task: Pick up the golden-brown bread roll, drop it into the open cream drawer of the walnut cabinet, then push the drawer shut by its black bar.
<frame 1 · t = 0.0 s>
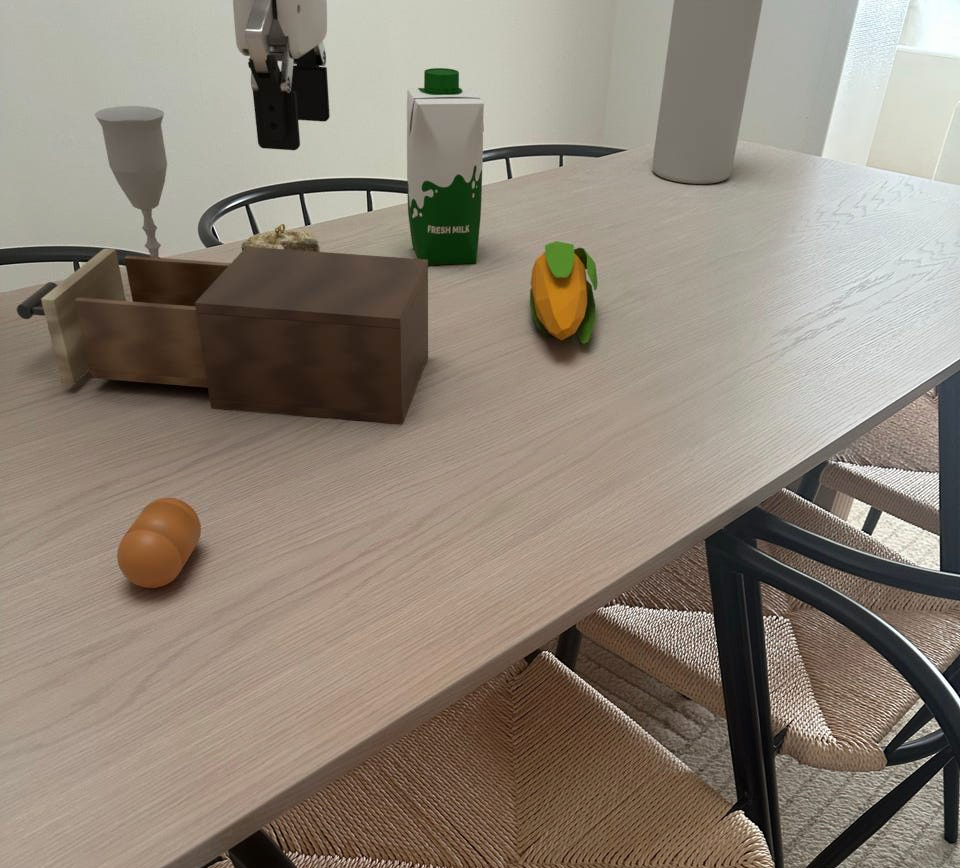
hand: (295, 133, 80), 22 cm above the table, tool pointing down, fingers open, 9 cm apart
cabinet: (325, 381, 95), on the table
cylinder vase: (690, 175, 157), on the table
chalice: (160, 290, 113), on the table
drawer: (143, 318, 94), point 5 cm above the table, slide at 13.0 cm
bread roll: (165, 567, 71), on the table
milk carton: (443, 257, 124), on the table
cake: (284, 271, 119), on the table
corn: (562, 328, 108), on the table
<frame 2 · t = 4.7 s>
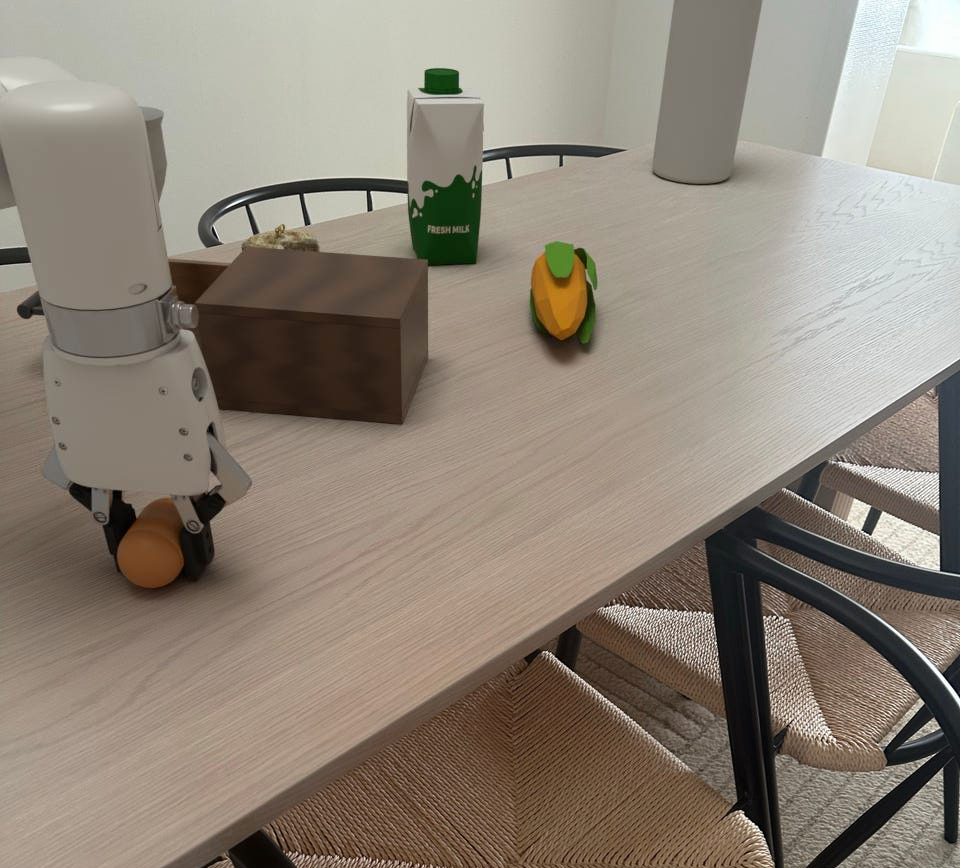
hand: (164, 563, 71), 0 cm above the table, tool pointing down, fingers closed on bread roll, 4 cm apart
bread roll: (165, 567, 71), on the table, touching gripper
everything else where it was.
when the fingers open (8 cm above the table, at t = 11.2 s): bread roll drops 6 cm, resting on drawer.
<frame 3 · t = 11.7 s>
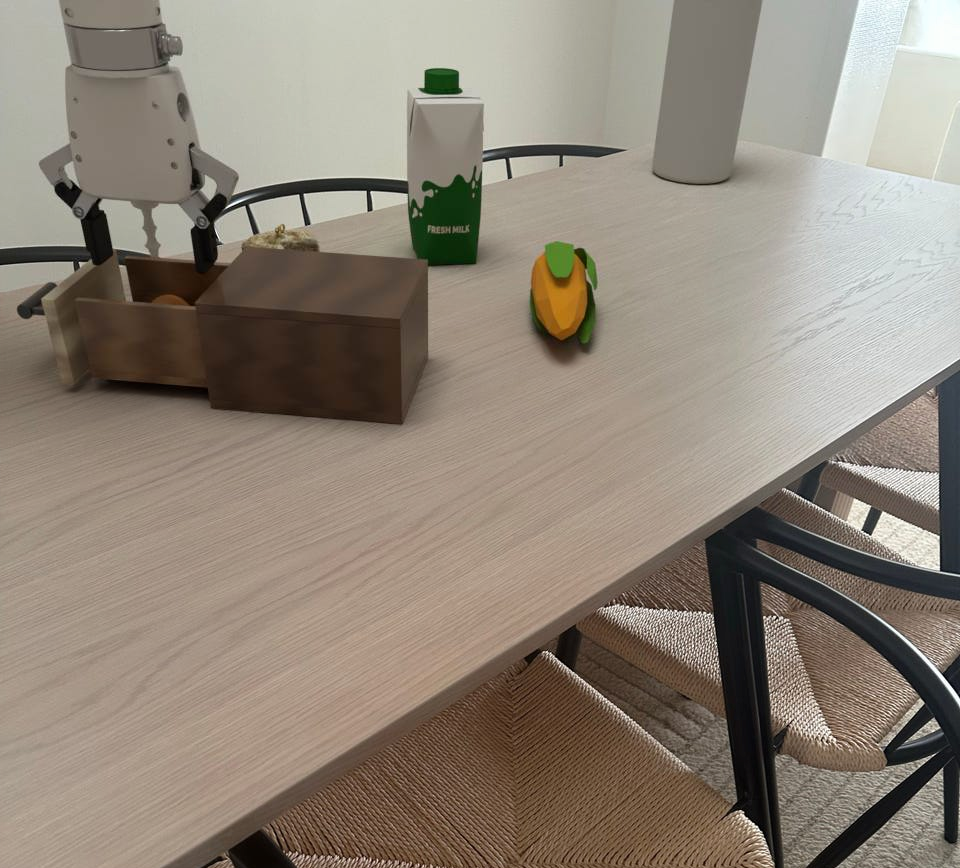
hand: (154, 264, 90), 10 cm above the table, tool pointing down, fingers open, 9 cm apart
drawer: (143, 318, 94), point 5 cm above the table, slide at 13.0 cm, touching bread roll
bread roll: (171, 348, 95), point 2 cm above the table, tilted 9°, touching drawer
everything else where it was.
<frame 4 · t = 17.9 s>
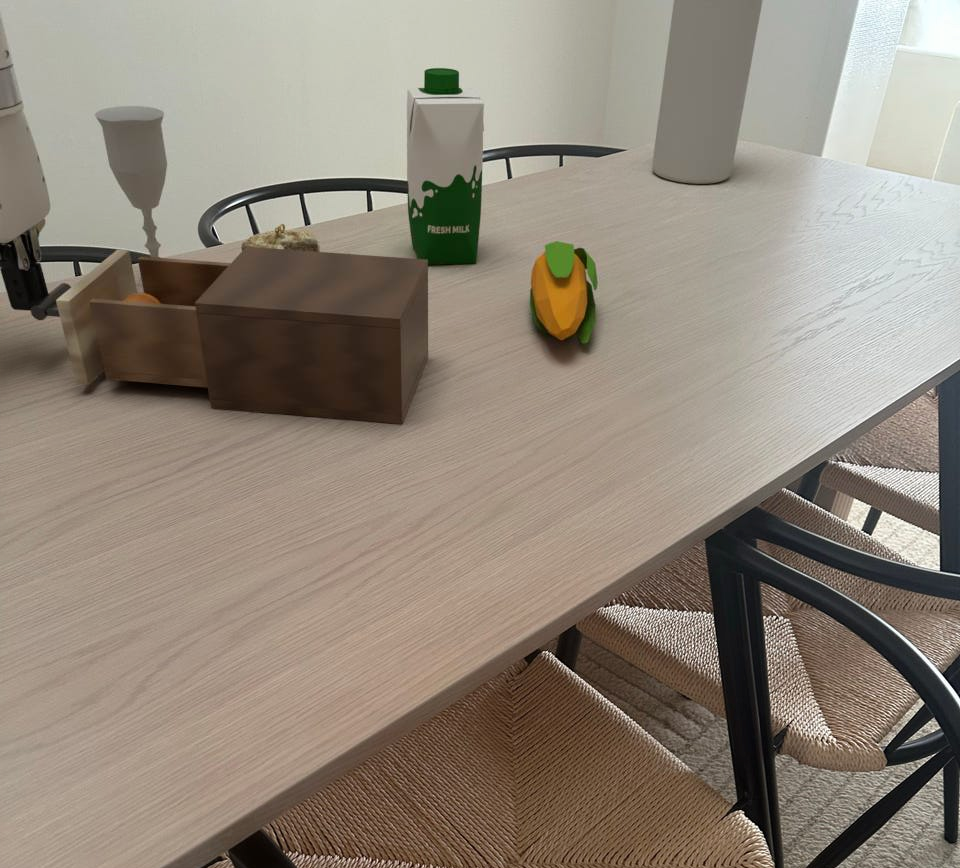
hand: (31, 306, 94), 5 cm above the table, tool pointing down, fingers closed
drawer: (157, 319, 93), point 5 cm above the table, slide at 11.6 cm, touching bread roll
bread roll: (153, 314, 93), point 5 cm above the table, tilted 118°, touching drawer
everything else where it was.
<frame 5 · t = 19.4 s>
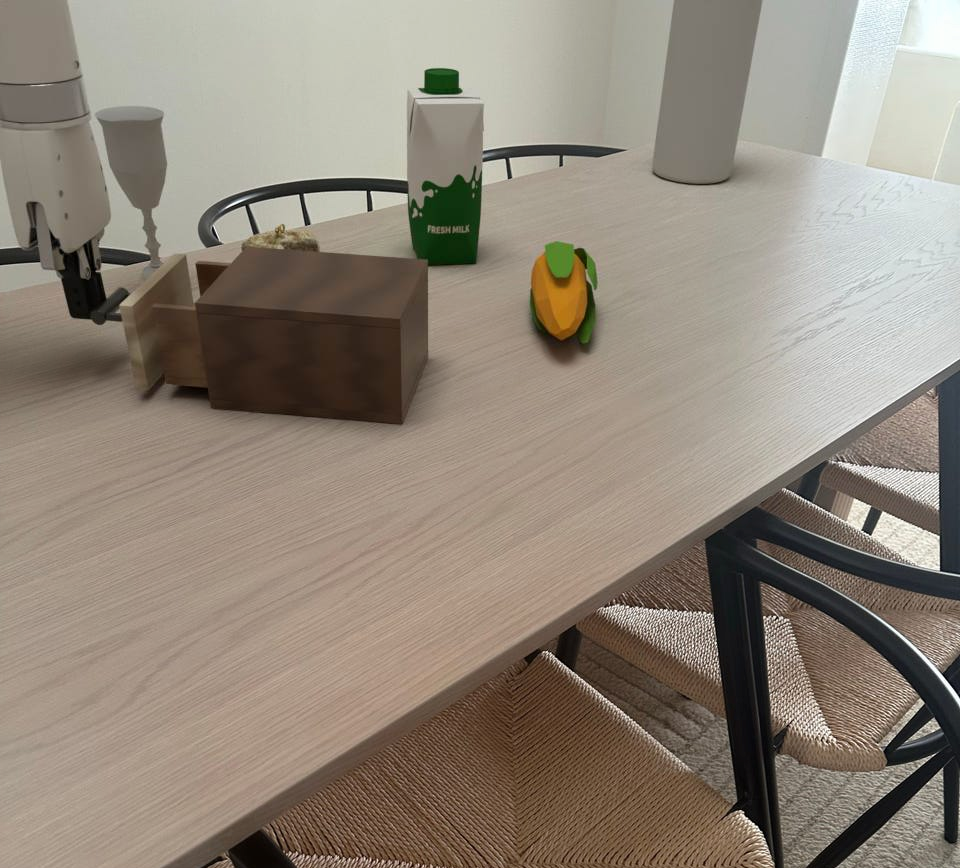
hand: (90, 315, 94), 5 cm above the table, tool pointing down, fingers closed
drawer: (215, 324, 93), point 5 cm above the table, slide at 5.9 cm, touching bread roll, gripper
bread roll: (227, 331, 93), point 4 cm above the table, tilted 90°, touching drawer
everything else where it was.
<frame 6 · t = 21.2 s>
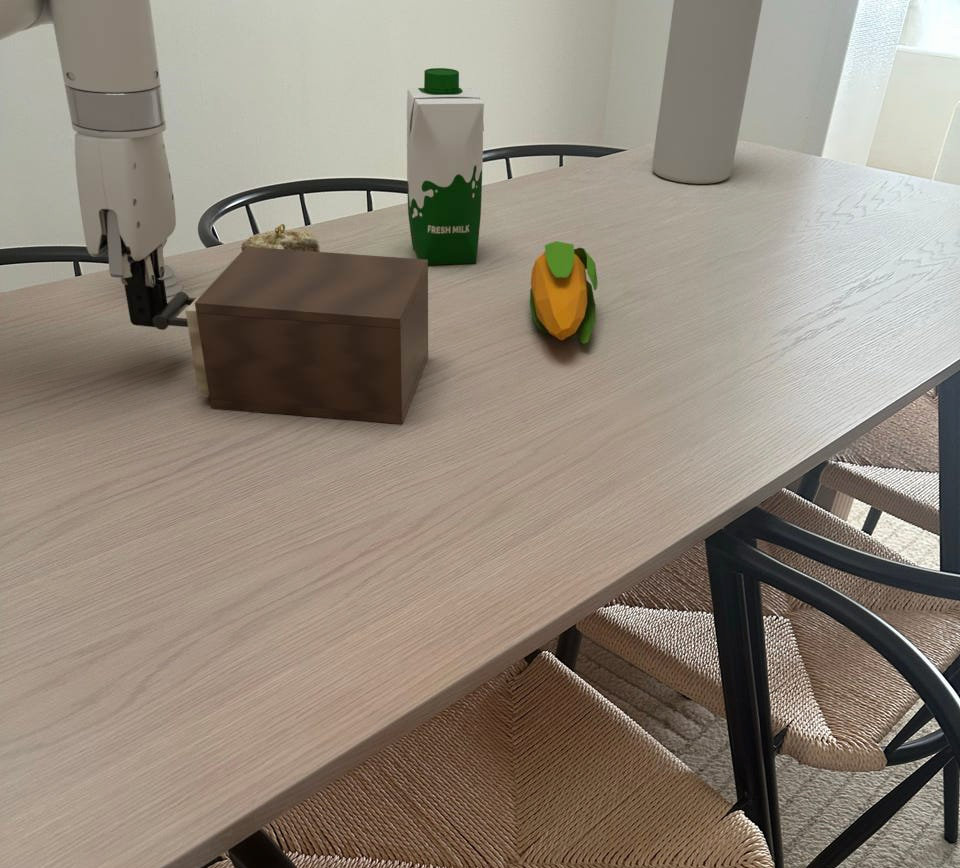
hand: (150, 322, 94), 5 cm above the table, tool pointing down, fingers closed
drawer: (277, 328, 93), point 5 cm above the table, slide at 0.0 cm, touching bread roll, cabinet, gripper
bread roll: (301, 354, 94), point 3 cm above the table, tilted 39°, touching drawer
everything else where it was.
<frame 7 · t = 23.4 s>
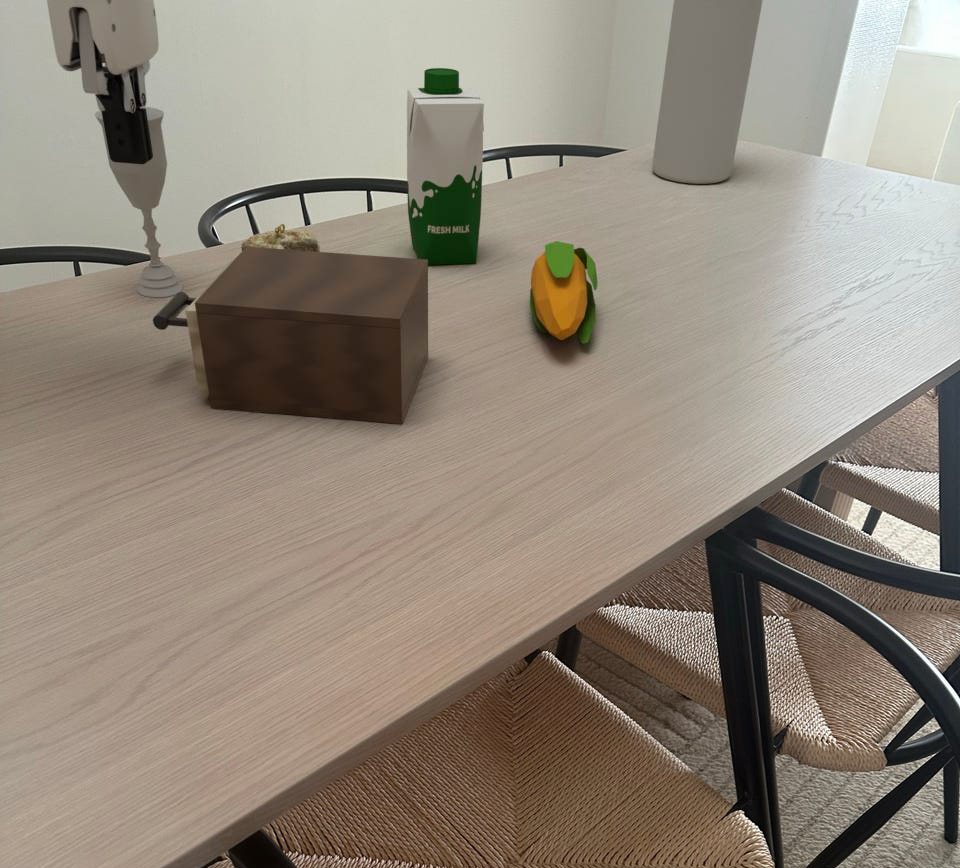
hand: (132, 160, 84), 19 cm above the table, tool pointing down, fingers closed
drawer: (277, 328, 93), point 5 cm above the table, slide at 0.0 cm, touching bread roll, cabinet
bread roll: (343, 322, 91), point 6 cm above the table, tilted 142°, touching drawer
everything else where it was.
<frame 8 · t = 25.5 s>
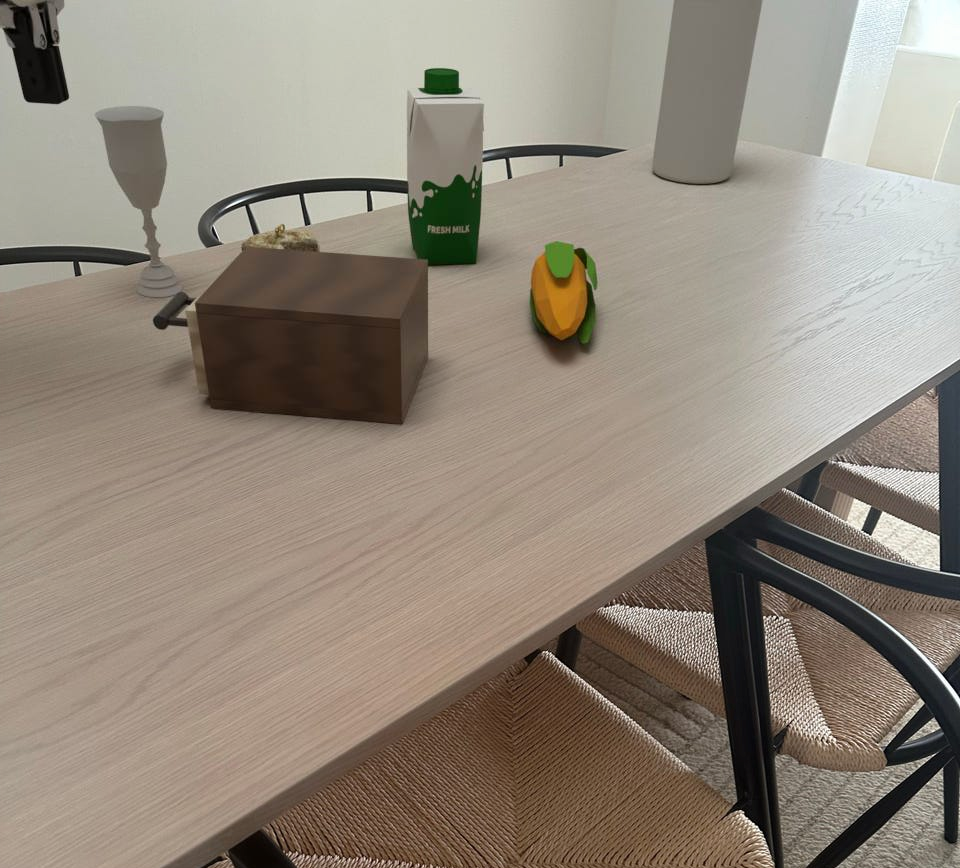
hand: (47, 100, 82), 23 cm above the table, tool pointing down, fingers closed
bread roll: (325, 329, 92), point 5 cm above the table, tilted 114°, touching drawer
everything else where it was.
at the end: bread roll inside the target area in the cabinet (0.3 cm from its centre), point 5.2 cm above the cabinet's base; drawer slide at 0.0 cm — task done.
